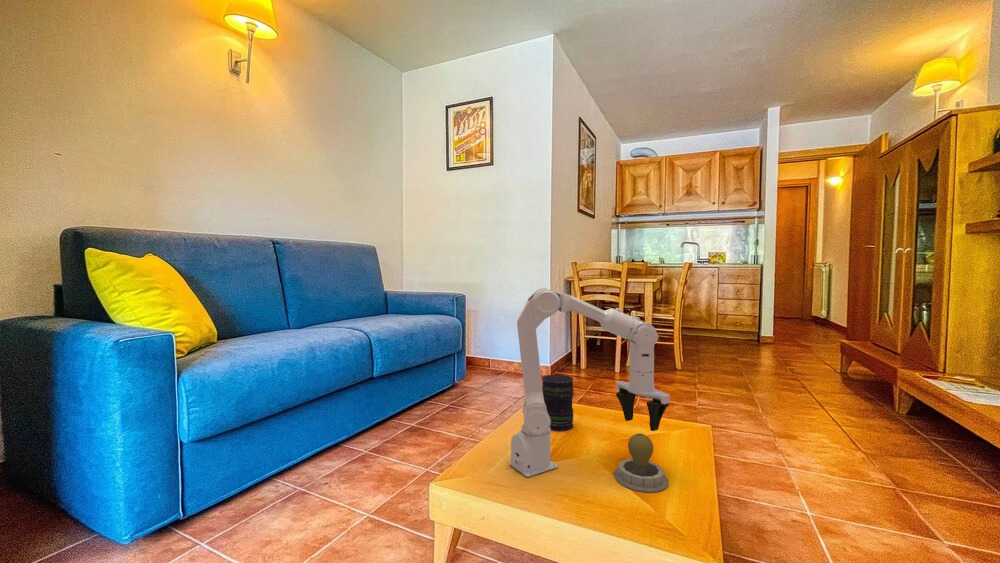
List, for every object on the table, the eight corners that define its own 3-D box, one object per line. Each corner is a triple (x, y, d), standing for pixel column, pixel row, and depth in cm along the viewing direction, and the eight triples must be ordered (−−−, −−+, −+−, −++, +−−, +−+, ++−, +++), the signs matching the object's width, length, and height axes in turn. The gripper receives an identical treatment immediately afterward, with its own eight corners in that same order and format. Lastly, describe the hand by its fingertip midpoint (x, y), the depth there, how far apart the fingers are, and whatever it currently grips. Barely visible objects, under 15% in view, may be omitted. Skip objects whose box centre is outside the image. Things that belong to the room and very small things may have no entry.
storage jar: (569, 419, 132) (569, 374, 131) (576, 431, 122) (577, 382, 122) (539, 420, 131) (539, 374, 131) (544, 431, 121) (544, 382, 121)
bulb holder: (645, 498, 85) (645, 486, 85) (603, 474, 95) (603, 464, 95) (679, 483, 91) (679, 472, 91) (636, 462, 102) (637, 452, 102)
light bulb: (636, 484, 90) (636, 440, 90) (623, 472, 95) (623, 430, 95) (658, 481, 91) (658, 438, 91) (644, 470, 96) (644, 428, 96)
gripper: (678, 374, 95) (677, 431, 95) (629, 362, 107) (628, 413, 107) (658, 378, 91) (658, 437, 91) (610, 366, 104) (610, 418, 104)
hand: (641, 424), depth 99 cm, fingers open, 7 cm apart
